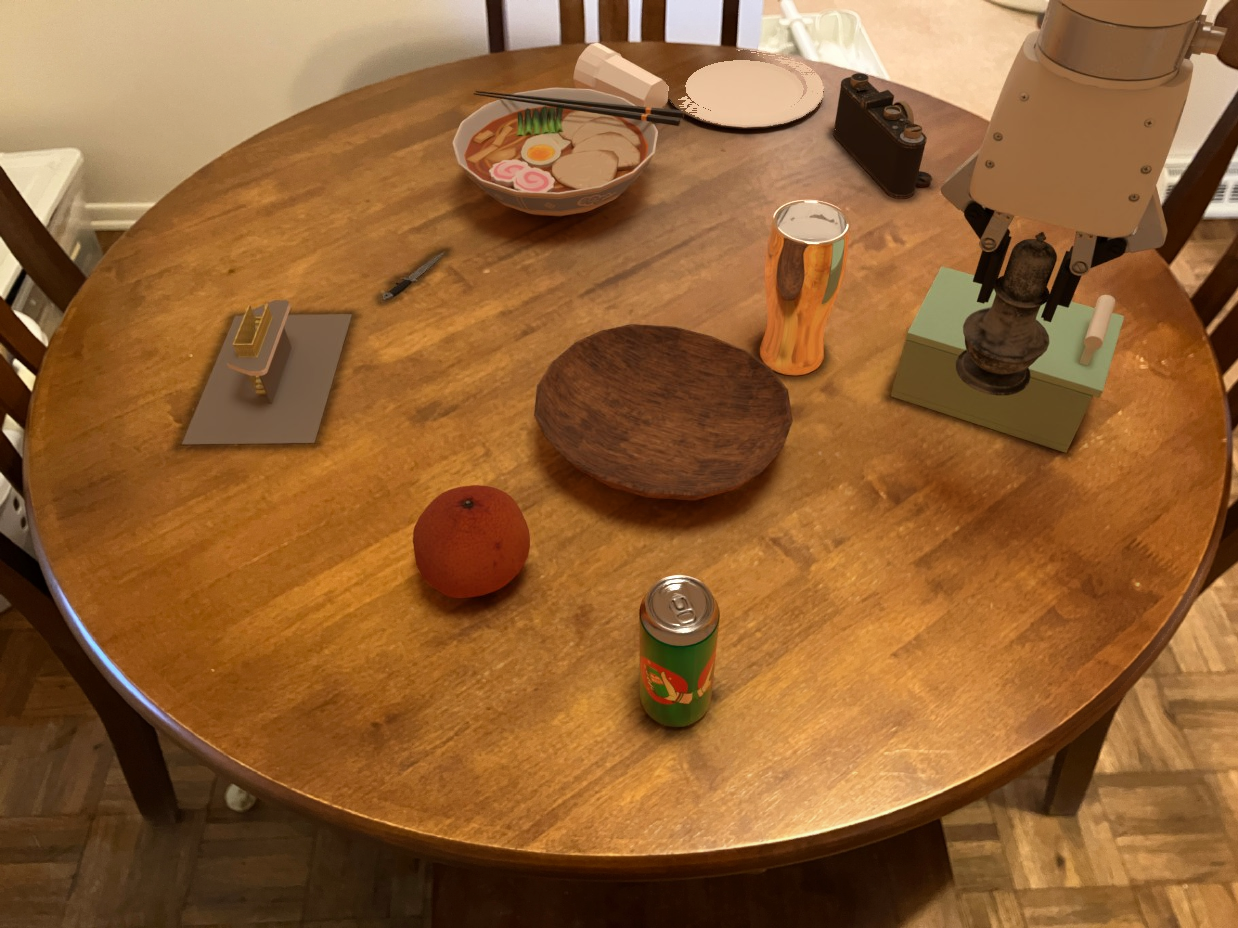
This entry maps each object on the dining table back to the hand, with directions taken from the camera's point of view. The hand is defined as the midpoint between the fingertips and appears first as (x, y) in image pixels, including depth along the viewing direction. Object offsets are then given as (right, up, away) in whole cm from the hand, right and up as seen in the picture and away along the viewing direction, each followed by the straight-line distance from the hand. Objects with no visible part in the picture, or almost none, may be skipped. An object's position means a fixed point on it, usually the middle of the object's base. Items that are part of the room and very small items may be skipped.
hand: (1018, 298), depth 66 cm
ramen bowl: (-34, +20, +46) cm, 61 cm away
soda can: (-23, -28, +3) cm, 37 cm away
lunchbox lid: (+7, 0, +18) cm, 19 cm away
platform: (-60, -3, +26) cm, 66 cm away
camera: (+4, +25, +50) cm, 56 cm away
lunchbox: (+7, -4, +23) cm, 25 cm away
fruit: (-39, -20, +11) cm, 45 cm away
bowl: (-24, -9, +20) cm, 32 cm away
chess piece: (0, -5, +5) cm, 7 cm away
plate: (-11, +37, +62) cm, 73 cm away
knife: (-49, +9, +37) cm, 62 cm away
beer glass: (-11, -1, +27) cm, 29 cm away
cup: (-23, +34, +55) cm, 68 cm away
